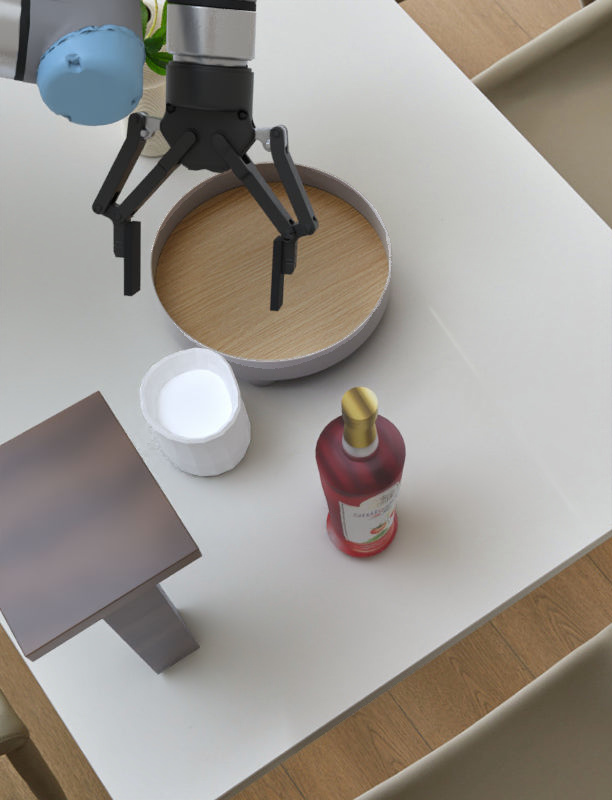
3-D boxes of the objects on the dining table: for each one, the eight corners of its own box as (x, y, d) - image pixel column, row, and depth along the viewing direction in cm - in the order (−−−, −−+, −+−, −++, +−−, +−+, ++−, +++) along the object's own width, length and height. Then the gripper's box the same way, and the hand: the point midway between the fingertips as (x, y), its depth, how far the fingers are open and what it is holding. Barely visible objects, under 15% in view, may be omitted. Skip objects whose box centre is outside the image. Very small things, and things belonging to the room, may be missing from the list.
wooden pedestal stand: (78, 618, 95) (-69, 483, 63) (186, 551, 98) (98, 389, 66) (146, 738, 90) (25, 657, 59) (257, 664, 93) (199, 548, 62)
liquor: (375, 479, 101) (377, 342, 76) (413, 540, 99) (428, 419, 73) (311, 514, 100) (291, 386, 74) (348, 577, 97) (340, 467, 72)
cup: (199, 375, 106) (183, 328, 97) (275, 426, 104) (266, 383, 95) (137, 443, 102) (116, 401, 94) (215, 497, 100) (200, 460, 91)
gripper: (358, 74, 91) (341, 304, 98) (83, 47, 92) (86, 278, 99) (349, 76, 84) (332, 324, 91) (51, 47, 85) (57, 295, 92)
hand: (204, 300), depth 95 cm, fingers open, 13 cm apart
